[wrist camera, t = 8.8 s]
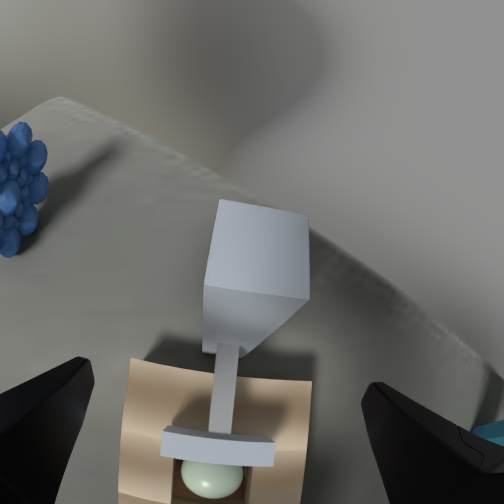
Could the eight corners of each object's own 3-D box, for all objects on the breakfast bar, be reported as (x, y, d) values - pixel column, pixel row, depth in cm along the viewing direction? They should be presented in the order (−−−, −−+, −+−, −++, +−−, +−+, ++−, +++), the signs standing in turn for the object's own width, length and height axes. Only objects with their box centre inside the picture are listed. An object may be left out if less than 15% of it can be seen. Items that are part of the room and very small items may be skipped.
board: (284, 510, 14) (296, 524, 11) (128, 495, 13) (118, 508, 10) (297, 383, 20) (311, 381, 17) (140, 362, 18) (131, 357, 16)
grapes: (44, 178, 24) (9, 96, 14) (78, 196, 24) (41, 101, 14) (-16, 257, 18) (-76, 188, 8) (13, 288, 18) (-64, 215, 8)
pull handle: (254, 447, 16) (340, 521, 4) (171, 438, 16) (120, 513, 4) (265, 322, 21) (347, 223, 9) (188, 311, 21) (175, 192, 9)
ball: (249, 444, 14) (239, 452, 16) (183, 437, 13) (184, 446, 16) (247, 502, 11) (237, 499, 13) (177, 495, 10) (180, 493, 13)
